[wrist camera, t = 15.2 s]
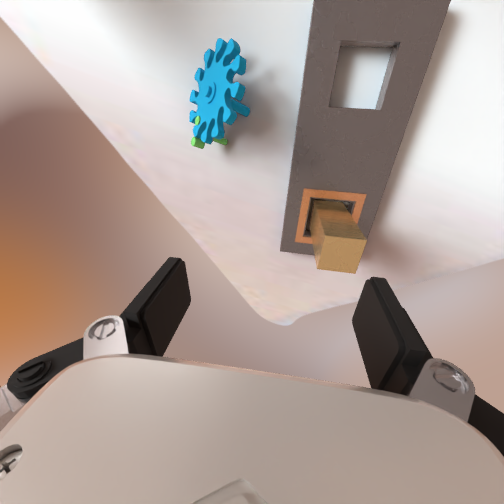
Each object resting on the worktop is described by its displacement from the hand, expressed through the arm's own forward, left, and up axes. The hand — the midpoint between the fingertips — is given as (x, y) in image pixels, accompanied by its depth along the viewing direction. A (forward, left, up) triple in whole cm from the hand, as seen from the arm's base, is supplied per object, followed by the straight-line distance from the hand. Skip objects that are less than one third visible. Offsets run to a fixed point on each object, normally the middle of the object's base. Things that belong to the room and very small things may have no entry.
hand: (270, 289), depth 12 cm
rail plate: (-4, +7, -24) cm, 25 cm away
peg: (+4, +7, -24) cm, 25 cm away
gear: (-9, -9, -24) cm, 27 cm away
